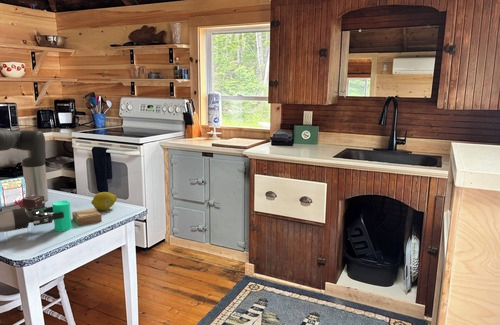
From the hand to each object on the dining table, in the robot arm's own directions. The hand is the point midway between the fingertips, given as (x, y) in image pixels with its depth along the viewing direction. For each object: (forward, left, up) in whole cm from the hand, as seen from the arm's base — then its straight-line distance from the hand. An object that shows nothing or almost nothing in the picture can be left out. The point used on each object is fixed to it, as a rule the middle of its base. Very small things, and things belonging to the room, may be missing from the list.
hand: (61, 211), depth 146 cm
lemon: (-13, +20, -7) cm, 25 cm away
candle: (0, 0, -7) cm, 7 cm away
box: (-24, -6, -7) cm, 26 cm away
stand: (-4, +10, -7) cm, 13 cm away
